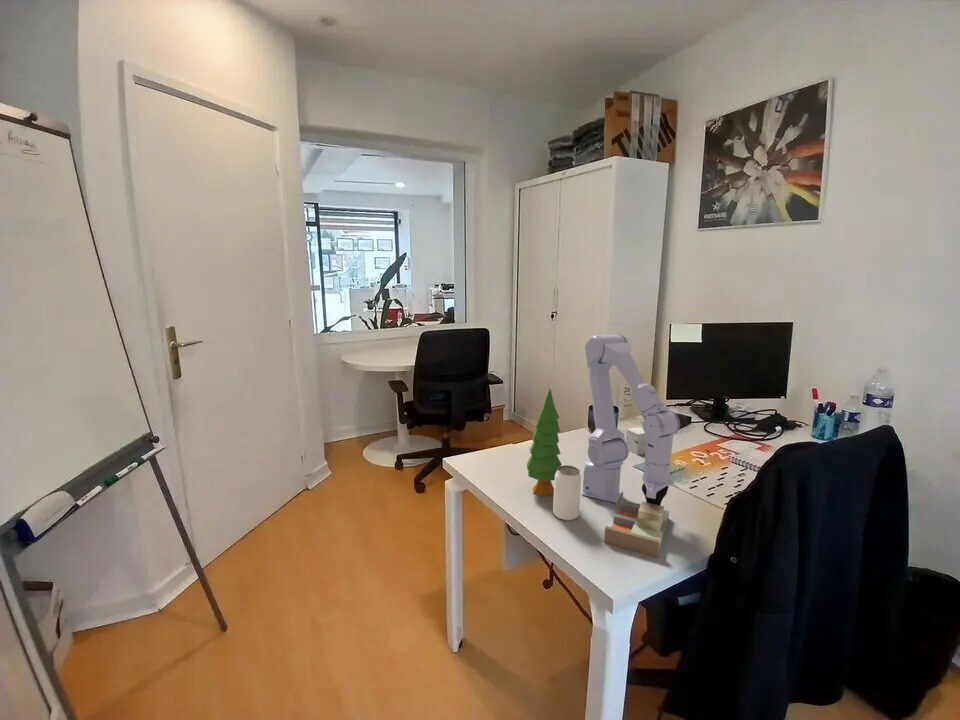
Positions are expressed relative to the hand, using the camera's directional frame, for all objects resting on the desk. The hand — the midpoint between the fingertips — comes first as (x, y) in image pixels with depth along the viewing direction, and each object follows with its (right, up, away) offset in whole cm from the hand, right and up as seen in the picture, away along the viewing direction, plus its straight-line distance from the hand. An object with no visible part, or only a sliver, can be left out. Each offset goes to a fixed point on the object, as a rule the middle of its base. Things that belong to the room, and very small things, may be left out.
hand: (652, 513), depth 114 cm
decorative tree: (-25, +1, +17) cm, 30 cm away
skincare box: (+12, +6, +47) cm, 49 cm away
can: (-20, -2, +4) cm, 21 cm away
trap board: (-4, -3, -2) cm, 6 cm away
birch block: (-2, -1, -3) cm, 4 cm away
